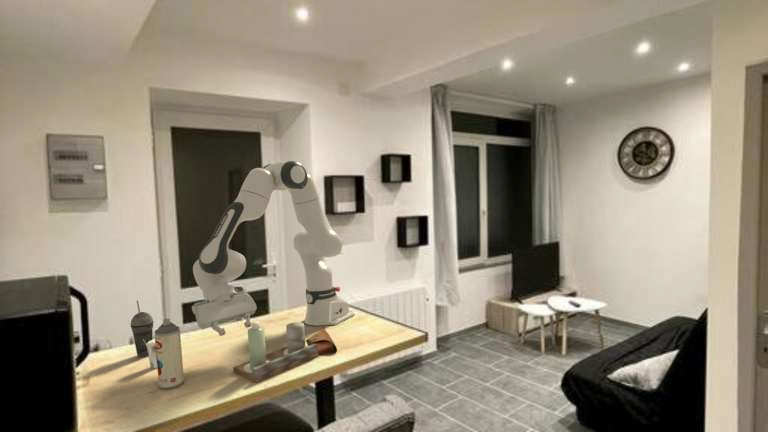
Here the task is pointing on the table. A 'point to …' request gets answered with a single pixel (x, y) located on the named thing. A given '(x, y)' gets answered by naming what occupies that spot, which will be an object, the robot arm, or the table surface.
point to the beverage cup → (142, 331)
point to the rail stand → (281, 356)
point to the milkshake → (152, 353)
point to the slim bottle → (256, 345)
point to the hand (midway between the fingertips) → (236, 330)
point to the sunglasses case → (323, 343)
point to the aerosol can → (169, 356)
